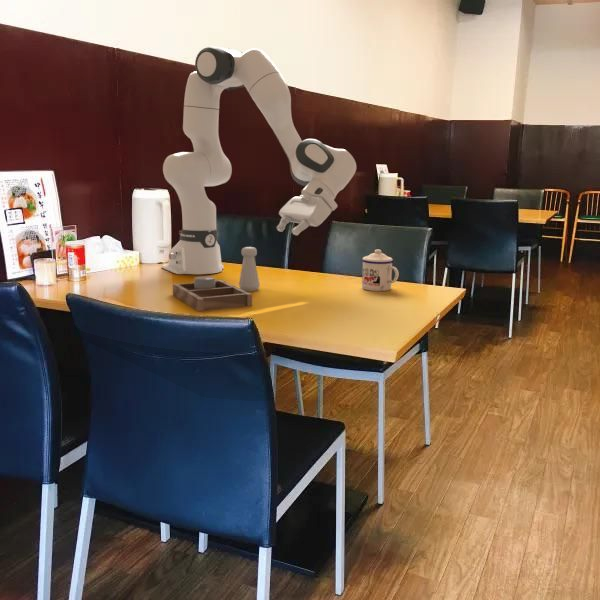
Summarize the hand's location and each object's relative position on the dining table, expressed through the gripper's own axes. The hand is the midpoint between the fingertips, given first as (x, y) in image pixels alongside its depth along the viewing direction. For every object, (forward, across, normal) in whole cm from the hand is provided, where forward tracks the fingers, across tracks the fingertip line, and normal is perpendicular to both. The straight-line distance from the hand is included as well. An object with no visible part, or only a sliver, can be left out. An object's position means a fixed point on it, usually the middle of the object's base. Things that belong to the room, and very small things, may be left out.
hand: (286, 231), depth 179 cm
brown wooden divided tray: (+31, +9, -7) cm, 33 cm away
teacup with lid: (-6, +12, +30) cm, 33 cm away
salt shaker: (+20, 0, +4) cm, 21 cm away
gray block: (+30, +4, -8) cm, 31 cm away
